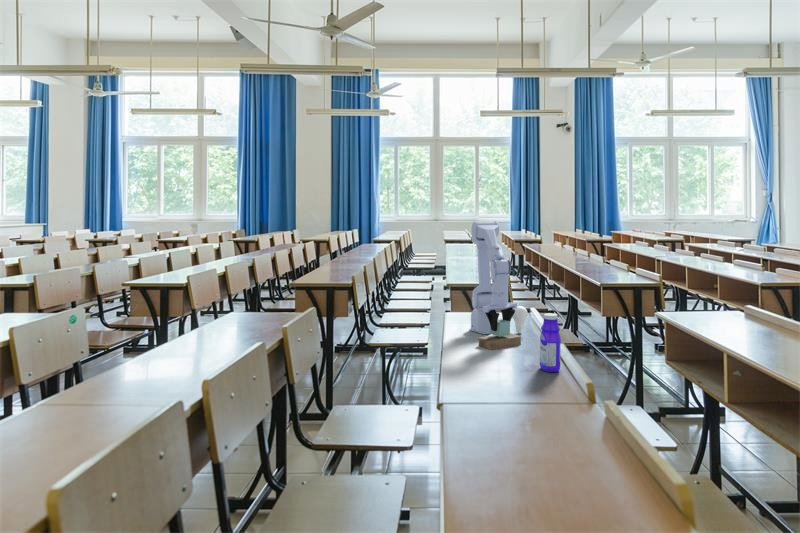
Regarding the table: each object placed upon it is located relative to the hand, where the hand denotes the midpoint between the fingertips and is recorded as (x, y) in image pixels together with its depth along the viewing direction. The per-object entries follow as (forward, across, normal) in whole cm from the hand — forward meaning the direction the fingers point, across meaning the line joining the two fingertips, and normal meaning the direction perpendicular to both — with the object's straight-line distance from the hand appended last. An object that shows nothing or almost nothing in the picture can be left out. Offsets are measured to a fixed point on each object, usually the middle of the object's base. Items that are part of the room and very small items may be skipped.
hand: (499, 329), depth 200 cm
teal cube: (+2, 0, 0) cm, 2 cm away
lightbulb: (+6, +18, +9) cm, 21 cm away
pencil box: (+6, 0, 0) cm, 6 cm away
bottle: (+6, -7, -31) cm, 32 cm away
